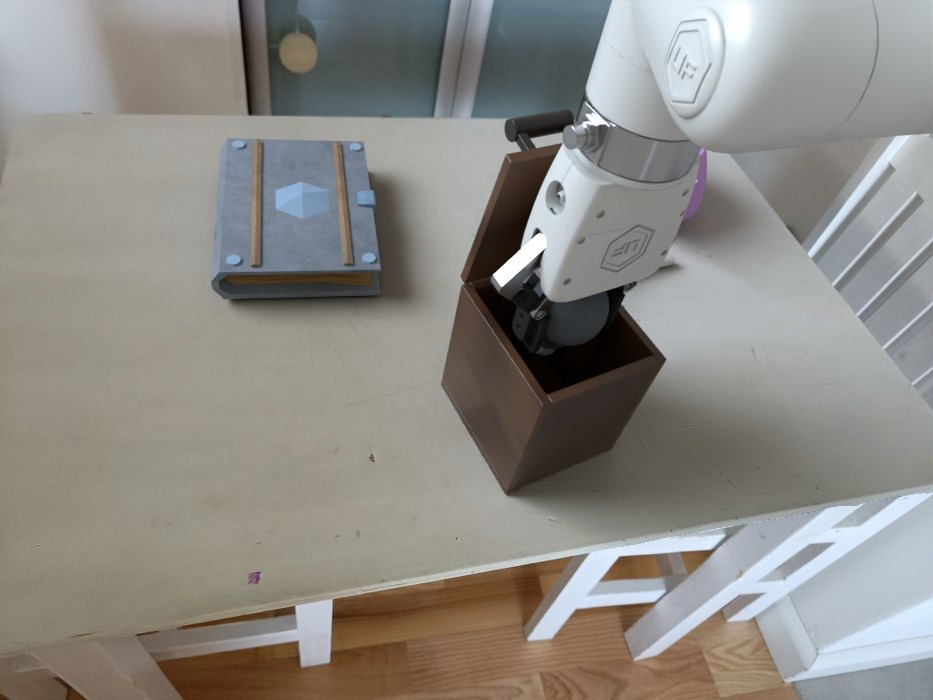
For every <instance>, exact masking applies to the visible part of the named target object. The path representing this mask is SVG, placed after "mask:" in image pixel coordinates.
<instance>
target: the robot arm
mask: <svg viewBox="0 0 933 700" xmlns="http://www.w3.org/2000/svg"><path fill="white" fill-rule="evenodd" d="M932 134H933V0H611V2H610V6H609V10H608V13H607V15H606V19H605V21H604V26H603V29H602V32H601V35H600V37H599V41H598V46H597V49H596V52H595V56H594V58H593V61H592V65H591V69H590V72H589V75H588V78H587V82H586V85H585V88H584V91H583V94H582V97H581V101H580V104H579V107H578V110H577V113H576V116H575V119H574V125H569V126H566V127H565V128H564V131H563V133H562V143H563V144H562V146H561V148H560V150H559V151H558V153H557V155H556V157H555V159H554V161H553V163H552V165H551V167H550V169H549V171H548V173H547V175H546V177H545V180H544V182H543V184H542V186H541V188H540V191H539V193H538V196H537V198H536V201H535V203H534V206H533V209H532V211H531V214H530V217H529V220H528V223H527V226H526V229H525V232H524V236H523V240H522V245H521V249H520V251H519V252H518V253H516V254H515V255H514V256H513V257H512V258H511V259H510V260H509V261H508V262H507V263H506V264H504V265H503V266H502V267H501V268H500V269H499V270H498V271H497V272H496V273H495V274H493V276H492V277H491V279H490V281H491V282H492V284H493V285H494V287H495V288H496V289H497V291H498V292H499V294H500V295H502V296H504V297H505V298H507V299H508V300H511V301H513V302H514V303H515V305H516V306H517V309H516V312H515V316H514V319H513V322H512V328H513V332H514V334H515V335H516V337H517V338H518V339H519V340H520V341H523V343H524V344H525V346H526V347H527V349H528V350H529V351H530V353H535V352H538V351H539V349H540V348H541V345H542V343H543V340H544V337H545V335H546V332H547V329H548V327H549V324H550V321H551V318H550V316H549V314H548V312H549V310H550V309H551V308H552V306H553V305H554V304H555V302H569V301H573V300H577V299H580V298H584V297H587V296H591V295H594V294H597V293H600V292H604V291H606V292H607V295H608V300H609V312H608V316H607V320H606V323H605V325H604V326H603V329H605V328H608V327H610V326H611V325H612V323H613V320H614V318H615V316H616V314H617V312H618V310H619V308H620V306H621V304H622V305H623V301H624V300H625V298H626V293H628V292H630V291H632V290H633V289H634V288H636V286H637V284H638V281H640V280H643V279H646V278H649V277H650V276H652V275H653V274H654V273H656V272H657V271H659V269H660V268H661V267H660V266H661V265H662V263H663V261H664V259H665V257H666V256H667V255H669V251H670V249H671V248H672V245H673V244H674V243H675V242H676V239H677V234H678V232H679V230H680V228H681V224H682V222H683V221H682V220H683V217H684V215H685V212H686V210H687V207H688V205H689V202H690V199H691V196H692V193H693V190H694V186H695V182H696V178H697V175H698V169H699V164H700V156H699V152H700V150H701V148H703V149H706V151H710V152H711V153H716V154H717V153H718V154H727V155H729V154H730V155H732V154H734V155H735V154H748V153H757V152H758V153H759V152H765V151H775V150H783V149H784V150H785V149H793V148H799V147H805V146H811V145H820V144H829V143H838V142H847V141H855V140H857V141H858V140H868V139H880V138H890V137H901V136H914V135H915V136H917V135H932ZM539 281H540V284H541V290H542V292H543V294H542V295H541V296H540V297H539V296H538V294H537V293H536V292H535V291H534V290H533V289H534V288H535V286H536V285H537V283H538V282H539Z"/></svg>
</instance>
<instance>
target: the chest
mask: <svg viewBox="0 0 933 700" xmlns="http://www.w3.org/2000/svg"><path fill="white" fill-rule="evenodd" d="M491 277H492V276H491ZM491 277H488V278H484V279H481V280H477V281H474V282H470V283H467V284H464V283H463V284H461V286H460V291H459V295H458V299H457V304H456V310H455V315H454V319H453V325H452V328H451V334H450V339H449V344H448V349H447V354H446V358H445V363H444V367H443V368H444V369H443V373H442V378H441V380H440V381H441V382H440V386H441V388H442V390H443V391H444V393H445V395H446V396H447V398H448V399H449V401H450V403H451V405H452V407H453V408H454V409H455V412H456V413H457V414H458V417H459V418H460V420H461V422H462V423H463V426H464V427H465V428H466V430H467V432H468V433H469V436H470V437H471V439H472V440H473V442H474V444H475V446H476V447H477V449H478V450H479V452H480V454H481V456H482V457H483V459H484V461H485V463H486V464H487V466H488V468H489V469H490V471H491V473H492V474H493V476H494V477H495V480H496V481H497V483H498V484H499V486H500V488H501V490H502V491H503V493H504V495H505V496H508V495H509V494H513V493H514V492H517V491H519V490H522V489H523V488H525V487H528V486H530V485H533V484H535V483H537V482H540V481H542V480H544V479H547V478H549V477H551V476H554V475H555V474H559V473H561V472H563V471H565V470H568V469H570V468H573V467H575V466H577V465H579V464H581V463H583V462H586V461H588V460H591V459H593V458H596V457H597V456H600V455H602V454H605V453H606V452H608V451H609V452H610V451H611V450H612V449H613V448H614V447H615V444H616V443H617V441H618V440H619V438H620V437H621V435H622V434H623V431H624V430H625V428H626V427H627V425H628V424H629V421H630V420H631V418H632V417H633V415H634V414H635V412H636V410H637V409H638V407H639V405H640V404H641V403H642V400H643V399H644V397H645V395H646V394H647V393H648V391H649V389H650V387H651V386H652V385H653V382H654V380H656V377H657V376H658V374H659V373H660V371H661V370H662V368H663V366H664V365H665V363H666V361H667V358H666V356H665V355H664V354H663V353H662V352H661V350H660V349H659V348H658V346H657V345H656V344H655V343H654V342H653V341H652V339H651V338H650V337H649V336H648V334H646V331H644V329H643V328H642V327H641V326H640V324H639V323H637V320H635V319H634V317H633V316H632V315H631V313H629V311H628V310H627V309H626V308H625V306H624V305H623V303H622V304H621V306H620V308H619V310H618V312H617V314H616V316H615V318H614V320H613V323H612V325H611V326H610V327H608V328H605V329H603V328H602V329H601V330H600V331H599V333H598V334H597V335H596V336H595V337H594V338H592V339H590V340H588V341H587V342H585V343H583V344H579V345H573V346H563V347H561V348H557V349H556V350H555V351H554V352H553V353H552V354H550V355H546V356H541V355H538V354H536V353H530V351H529V350H528V349H527V347H526V346H525V344H524V343H523V341H520V340H519V339H518V338H517V337H516V335H515V334H514V332H513V328H512V322H513V319H514V316H515V312H516V309H517V306H516V305H515V303H514V302H513V301H511V300H508V299H507V298H505V297H504V296H502V295H500V294H499V292H498V291H497V289H496V288H495V287H494V285H493V284H492V282H491V281H490V279H491Z"/></svg>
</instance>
